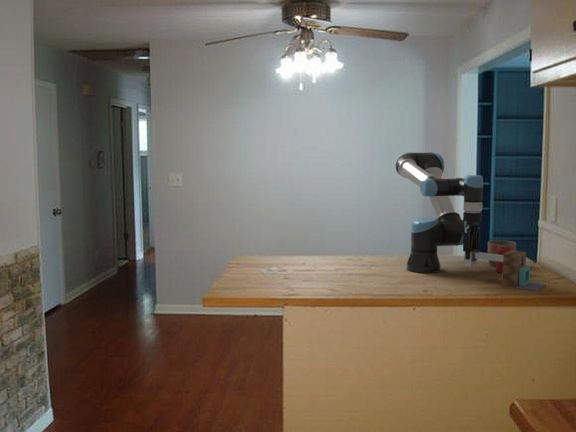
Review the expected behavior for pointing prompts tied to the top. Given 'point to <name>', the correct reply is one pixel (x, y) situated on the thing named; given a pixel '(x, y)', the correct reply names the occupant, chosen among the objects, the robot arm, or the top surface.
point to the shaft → (486, 256)
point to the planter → (494, 245)
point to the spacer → (524, 275)
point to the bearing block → (512, 267)
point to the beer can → (501, 251)
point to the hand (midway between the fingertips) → (470, 265)
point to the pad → (532, 286)
